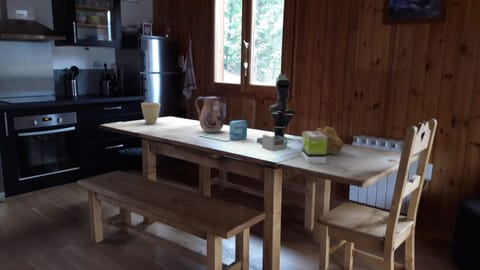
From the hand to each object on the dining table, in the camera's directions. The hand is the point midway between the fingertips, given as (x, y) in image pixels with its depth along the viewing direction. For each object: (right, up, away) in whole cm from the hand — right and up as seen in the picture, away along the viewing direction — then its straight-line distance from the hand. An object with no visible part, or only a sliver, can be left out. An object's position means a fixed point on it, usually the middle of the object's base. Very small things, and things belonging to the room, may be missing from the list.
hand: (281, 125), depth 234 cm
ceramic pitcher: (-48, -3, +45) cm, 66 cm away
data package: (-27, -9, +23) cm, 36 cm away
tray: (-4, -11, +14) cm, 18 cm away
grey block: (-4, -14, -1) cm, 14 cm away
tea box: (+14, -20, -27) cm, 36 cm away
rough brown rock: (+26, -17, -10) cm, 33 cm away
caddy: (-2, -14, 0) cm, 14 cm away
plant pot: (-96, +3, +71) cm, 120 cm away
